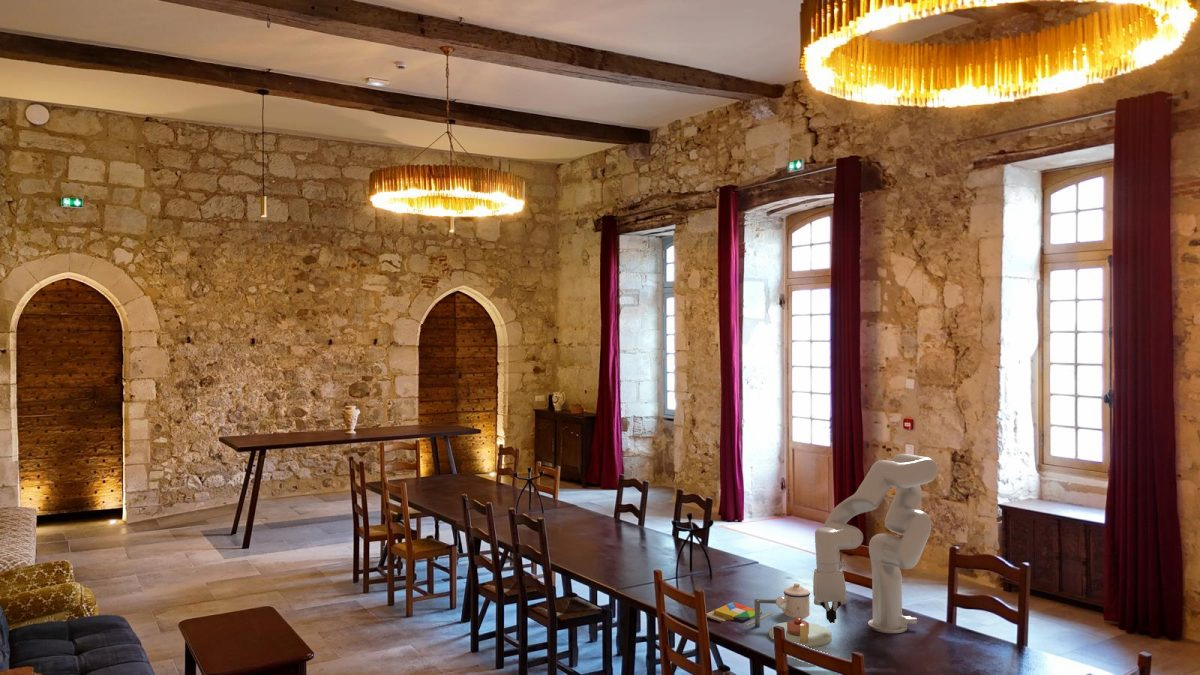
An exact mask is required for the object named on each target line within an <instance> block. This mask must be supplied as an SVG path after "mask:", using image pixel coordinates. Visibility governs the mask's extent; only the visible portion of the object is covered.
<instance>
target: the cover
mask: <svg viewBox="0 0 1200 675" xmlns="http://www.w3.org/2000/svg"><path fill="white" fill-rule="evenodd" d="M786 622H787V633H788V634H790V635H794V636H800V626H801V625H807V626H808V634H809V623H810V622H808V621H806V620H803V618H800V617H795V618H794V617H793V619H790V620H787V621H786Z"/></svg>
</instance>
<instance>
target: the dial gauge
mask: <svg viewBox="0 0 1200 675" xmlns="http://www.w3.org/2000/svg"><path fill="white" fill-rule="evenodd" d="M753 601H754V609H755V618H754V620H755V623H754V627H755V628H761V620H760V617H761V615H760V611H761V608H760V607H761V604H773V605H774V604H776V606H777V608H779V609H781V608H784V609H785V607H786V605H787V601H786V599H785V598H784V596H778V597H777V598H776V599H759V598H755V599H754V600H753Z"/></svg>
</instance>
